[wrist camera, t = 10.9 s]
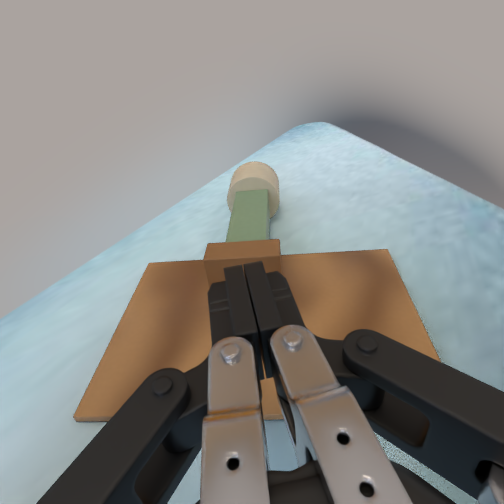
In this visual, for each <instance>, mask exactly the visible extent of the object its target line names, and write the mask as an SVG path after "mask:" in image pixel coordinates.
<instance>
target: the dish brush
mask: <svg viewBox="0 0 504 504" xmlns="http://www.w3.org/2000/svg"><path fill="white" fill-rule="evenodd" d="M227 204H228V207H229V210H230V212H231V213H232V214H231V219H230V224H229V229H228V233H227V238H226V242H223V243H208V244H207V248H206V252H205V255H204V259H203V262H204V266H205V271H206V275H207V280H208V284H209V288H210V287H211V284H212V283H216V282H221V281H225V275H224V268H225V267H230V266H236V265H241V264H242V267H243V264H246V263H251V262H257V261H262V263H263V266H264V269H265V272H266V273H269V272H274V271H278V272H279V273H281V274H282V265H281V252H280V240H279V239H271V240H269V225H270V219H271V218H272V217H273V216H274V215H275V213H276V212H277V210H278V207H279V180H278V177H277V174H276V173H275V171H274V170H273V169H272V168H271V167H270V166H268V165H266V164H264V163H261V162H248V163H245V164H243V165H241V166H240V167H239V168H237V170H236V171H235V172H234V174H233V176H232V179H231V183H230V187H229V191H228V196H227ZM243 271H244V267H243ZM244 276H245V274H244Z"/></svg>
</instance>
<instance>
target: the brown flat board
mask: <svg viewBox="0 0 504 504" xmlns="http://www.w3.org/2000/svg"><path fill="white" fill-rule="evenodd" d="M281 265H282V275H283V276H284V277H285V278H286V279H287V282H288V284H289V287H290V289H291V292H292V294H293V297H294V299H295V302H296V304H297V307H298V309H299V312H300V314H301V317H302V319H303V322H304V324H305V326H306V328H307V329H308V330H310V331H311V332H312V333H313V334H314V335H316V336H318V337H321V338H325V339H333V340H344V338H345V337H346V335H347V334H348V333H350V332H352V331H354V330H358V329H369V330H373V331H376V332H378V333H381V334H383V335H385V336H387V337H389V338H391V339H393V340H395V341H397V342H399V343H402V344H404V345H406V346H408V347H410V348H412V349H414V350H416V351H418V352H420V353H423V354H425V355H427V356H429V357H431V358H433V359H435V360H437V361H439V362H441V361H440V359H439V357H438V354H437V352H436V350H435V348H434V346H433V344H432V342H431V340H430V338H429V336H428V333H427V331H426V329H425V327H424V325H423V323H422V321H421V319H420V317H419V315H418V312H417V310H416V308H415V306H414V304H413V302H412V300H411V298H410V296H409V293H408V291H407V289H406V287H405V285H404V283H403V281H402V279H401V277H400V275H399V272H398V270H397V268H396V266H395V264H394V262H393V260H392V258H391V256H390V254H389V251H388V249H379V250H362V251H345V252H328V253H311V254H294V255H281ZM209 289H210V288H209V284H208V280H207V275H206V271H205V266H204V262H203V260H191V261H174V262H157V263H149V264H148V266H147V268H146V270H145V272H144V274H143V276H142V278H141V280H140V282H139V284H138V286H137V288H136V290H135V292H134V294H133V296H132V298H131V300H130V302H129V304H128V306H127V308H126V310H125V312H124V314H123V316H122V318H121V321H120V323H119V325H118V327H117V329H116V331H115V333H114V335H113V337H112V339H111V341H110V343H109V345H108V347H107V349H106V351H105V353H104V355H103V357H102V359H101V361H100V363H99V365H98V367H97V369H96V371H95V373H94V375H93V377H92V379H91V381H90V383H89V385H88V387H87V389H86V391H85V394H84V396H83V398H82V400H81V402H80V404H79V406H78V408H77V410H76V412H75V414H74V416H73V418H74V419H75V420H76V421H77V422H90V421H109V420H110V419H111V418H112V417H113V416H114V414H115V413H116V412H117V411H118V410H119V409H120V408H121V406H122V405H123V404H124V403H125V402H126V401H127V400H128V398H129V397H130V396H131V395H132V394H133V393H134V392H135V391H136V389H137V388H138V387H139V386H140V385H141V384H142V383H143V381H144V380H145V379H146V378H147V377H148V376H149V375H151V374H152V373H154V372H155V371H157V370H160V369H163V368H176V369H179V370H181V371H182V372H183V373H184V372H186V371H188V370H190V369H192V368H194V367H196V366H198V365H199V364H201V363H202V362H203V361H204V360H205V359H206V358H207V356H208V355H209V352H210V350H211V347H212V340H211V329H210V317H209V306H208V305H209V304H208V294H207V293H208V291H209ZM261 357H262V356H261ZM262 363H263V361H262ZM263 370H264V377H265V379H263V380H260V382H261V388H262V408H263V417H264V420H276V419H284V418H283V415H282V412H281V409H280V406H279V403H278V400H277V394H276V387H275V383H274V379H273V377H272V378H268V379H267V378H266V374H265V369H264V365H263Z"/></svg>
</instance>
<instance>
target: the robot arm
mask: <svg viewBox="0 0 504 504" xmlns="http://www.w3.org/2000/svg"><path fill="white" fill-rule="evenodd" d="M243 267H244V271H243ZM243 267H242V264H241V265H236V266H230V267H225V268H224V275H225V281H221V282H216V283H212V284H211V287H210V289H209V291H208V293H207V294H208V304H209V305H208V306H209V317H210V329H211V340H212V347H211V350H210V352H209V355H208V356H207V358H206V359H205V360H204V361H203V362H202V363H201V364H199V365H198V366H196V367H194V368H192V369H190V370H188V371H186V372H184V373H183V372H182V371H181V370H179V369H176V368H163V369H160V370H157V371H155V372H154V373H152V374H151V375H149V376H148V377H147V378H146V379H145V380H144V381H143V383H142V384H141V385H140V386H139V387H138V388H137V389H136V391H135V392H134V393H133V394H132V395H131V396H130V397H129V398H128V400H127V401H126V402H125V403H124V404H123V405H122V406H121V408H120V409H119V410H118V411H117V412H116V413H115V414H114V416H113V417H112V418H111V419H110V420H109V421H108V422H107V424H106V425H105V426H104V427H103V428H102V429H101V430H100V432H99V433H98V434H97V435H96V436H95V437H94V438H93V440H92V441H91V442H90V443H89V444H88V445H87V446H86V448H85V449H84V450H83V451H82V452H81V453H80V454H79V456H78V457H77V458H76V459H75V460H74V461H73V462H72V464H71V465H70V466H69V467H68V468H67V469H66V470H65V471H64V473H63V474H62V475H61V476H60V477H59V478H58V479H57V481H56V482H55V483H54V484H53V485H52V486H51V487H50V489H49V490H48V491H47V492H46V493H45V494H44V495H43V497H42V498H41V499H40V500H39V501H38V502H37V503H36V504H167V502H168V501H169V499H170V498H171V496H172V494H173V493H174V491H175V490H176V488H177V486H178V485H179V483H180V482H181V480H182V478H183V477H184V475H185V474H186V472H187V470H188V469H189V467H190V466H191V464H192V462H193V461H194V459H195V458H196V456H197V454H198V453H199V451H200V450H201V448H202V457H201V488H200V500H199V501H198V502H197V503H195V504H456V503H455V502H453V501H452V500H451V499H449V498H448V497H447V496H445V495H444V494H442V493H441V492H440V491H438V490H437V489H436V488H434V487H433V486H431V485H430V484H429V483H427V482H426V481H425V480H423V479H422V478H420V477H419V476H418V475H416V474H415V473H413V472H412V471H411V470H409V469H407V468H405V467H404V466H402V465H400V464H398V463H395V462H393V461H391V460H389V459H388V457H387V455H386V454H385V452H384V450H383V448H382V446H381V445H380V443H379V441H378V439H377V437H376V435H375V434H374V432H375V433H377V434H378V435H380V436H381V437H383V438H384V439H386V440H387V441H389V442H390V443H392V444H393V445H395V446H396V447H398V448H399V449H401V450H402V451H404V452H405V453H407V454H409V455H410V456H412V457H413V458H415V459H416V460H418V461H419V462H421V463H422V464H424V465H425V466H427V467H428V468H430V469H431V470H433V471H434V472H436V473H437V474H439V475H440V476H442V477H443V478H445V479H446V480H448V481H449V482H451V483H452V484H454V485H455V486H457V487H458V488H460V489H461V490H463V491H464V492H466V493H467V494H469V495H470V496H472V497H473V498H475V499H476V500H478V503H479V504H504V392H502V391H500V390H498V389H496V388H494V387H492V386H490V385H488V384H486V383H483V382H481V381H479V380H477V379H475V378H473V377H471V376H469V375H467V374H465V373H462V372H460V371H458V370H456V369H454V368H452V367H450V366H448V365H446V364H444V363H441V362H439V361H437V360H435V359H433V358H431V357H429V356H427V355H425V354H423V353H420V352H418V351H416V350H414V349H412V348H410V347H408V346H406V345H404V344H402V343H399V342H397V341H395V340H393V339H391V338H389V337H387V336H385V335H383V334H381V333H378V332H376V331H373V330H369V329H358V330H354V331H352V332H350V333H348V334H347V335H346V337H345V338H344V340H333V339H325V338H321V337H318V336H316V335H314V334H313V333H312V332H311V331H310V330H308V329H307V328H306V326H305V324H304V322H303V319H302V317H301V314H300V312H299V309H298V307H297V304H296V302H295V299H294V297H293V294H292V292H291V289H290V287H289V284H288V282H287V279H286V278H285V277H284V276H283V275H282V274H281V273H279V272H278V271H274V272H269V273H266V272H265V269H264V266H263V263H262V261H257V262H251V263H246V264H243ZM244 274H245V276H244ZM261 356H262V357H261ZM262 361H263V363H262ZM263 365H264V369H265V374H266V378H267V379H268V378H272V377H273V379H274V383H275V387H276V394H277V400H278V403H279V406H280V409H281V412H282V415H283V418H284V421H285V424H286V426H287V429H288V432H289V435H290V438H291V441H292V444H293V447H294V450H295V454H296V457H297V462H298V466H299V468H297V469H295V470H293V471H270V465H269V458H268V450H267V441H266V433H265V425H264V417H263V408H262V388H261V382H260V380H263V379H265V377H264V370H263ZM373 431H374V432H373Z"/></svg>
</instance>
